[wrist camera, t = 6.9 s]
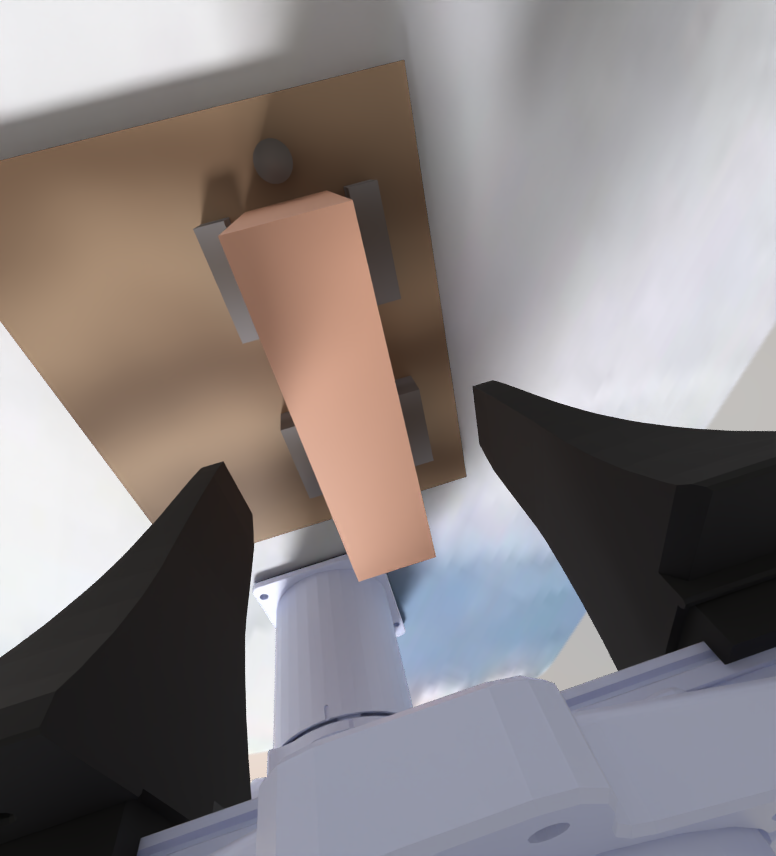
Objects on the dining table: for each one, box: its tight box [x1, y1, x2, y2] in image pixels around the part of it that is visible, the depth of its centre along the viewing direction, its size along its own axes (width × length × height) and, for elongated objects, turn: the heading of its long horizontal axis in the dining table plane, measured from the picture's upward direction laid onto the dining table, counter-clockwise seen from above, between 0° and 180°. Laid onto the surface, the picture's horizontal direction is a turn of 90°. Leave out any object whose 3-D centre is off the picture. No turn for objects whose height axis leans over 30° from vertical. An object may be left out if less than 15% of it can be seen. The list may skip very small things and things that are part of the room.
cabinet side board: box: [0, 60, 466, 543], centre depth 18 cm, size 18×16×3 cm
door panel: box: [218, 190, 436, 582], centre depth 15 cm, size 12×3×7 cm, turn 12°
